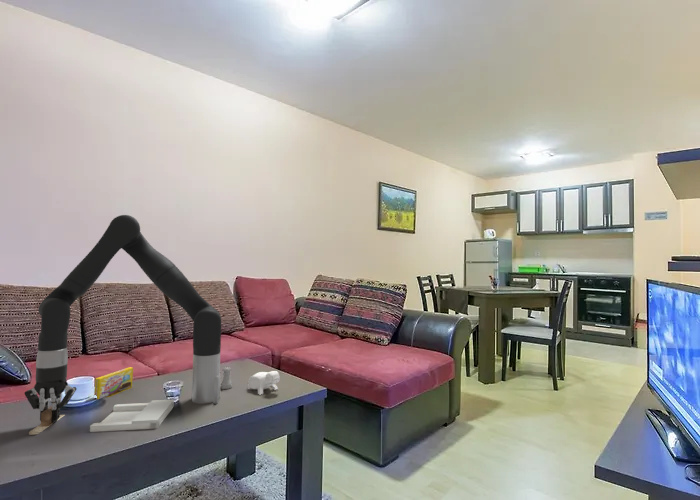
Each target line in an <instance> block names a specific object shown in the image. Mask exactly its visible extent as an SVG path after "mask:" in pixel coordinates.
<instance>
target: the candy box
mask: <svg viewBox="0 0 700 500" xmlns="http://www.w3.org/2000/svg"><path fill="white" fill-rule="evenodd" d="M133 376H134V367H131V366H129V367H126V368H123V369H120V370H116V371H115V372H114V371H113V372H111V373H107V374H105V375H102V376H99V377H95V381H94V393H93V396H94V395H96V396H97V399H96V400H100V399H102V398H111V397H113V396H117V395H118V394H121V393H123V392H126V391H128V390H129V389H132V388H133V378H134V377H133Z"/></svg>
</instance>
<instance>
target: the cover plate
mask: <svg viewBox="0 0 700 500" xmlns="http://www.w3.org/2000/svg"><path fill="white" fill-rule="evenodd" d="M64 416H66V414H60V417H59V419H58V420H57V421H59V420H60V419H62V418H63V417H64ZM51 419H52V405H51V406H50V407H48V409H47V410H45V411H43V412H42V413H41V421H40V424H39V425H37V426H36V427H34V428H32V429H31V430H30V431H29V432H28V435H29V436H30V435H32V436H33V435H39V434H40V433H42V432H43V431H44V430H46V429H47V428H49V427H50V426H51V425H52V426H53V424H54V423H56V422H54V423H52V422H51Z"/></svg>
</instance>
